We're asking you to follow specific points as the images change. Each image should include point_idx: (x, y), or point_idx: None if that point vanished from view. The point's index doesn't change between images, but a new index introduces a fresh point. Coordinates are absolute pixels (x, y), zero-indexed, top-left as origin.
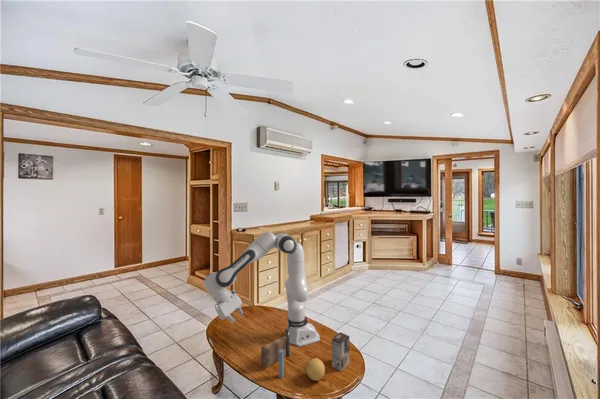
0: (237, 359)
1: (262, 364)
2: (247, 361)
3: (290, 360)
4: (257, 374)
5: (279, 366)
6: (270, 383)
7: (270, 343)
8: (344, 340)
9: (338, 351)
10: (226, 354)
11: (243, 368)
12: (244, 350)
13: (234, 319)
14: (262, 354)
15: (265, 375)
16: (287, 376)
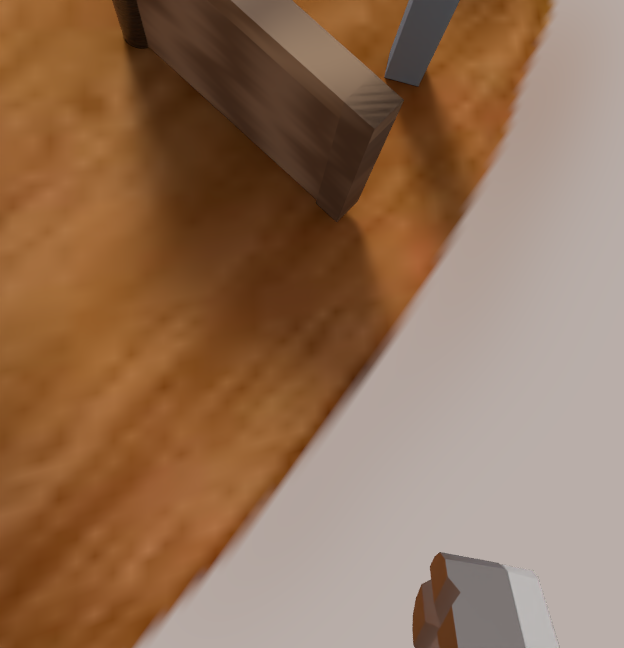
0: (204, 479)
1: (354, 197)
2: (232, 372)
3: None
4: (398, 249)
5: (447, 19)
6: (484, 139)
7: (281, 31)
8: None
9: None
10: (119, 630)
11: (332, 385)
12: (48, 447)
13: (488, 593)
14: (373, 150)
15: (404, 185)
16: None
